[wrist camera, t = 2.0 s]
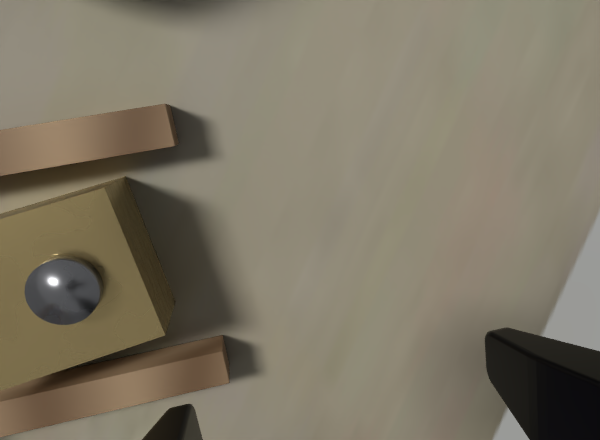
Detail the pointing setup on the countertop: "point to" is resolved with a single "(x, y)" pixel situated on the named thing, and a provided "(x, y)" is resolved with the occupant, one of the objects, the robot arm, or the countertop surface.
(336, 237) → the countertop surface
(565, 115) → the countertop surface
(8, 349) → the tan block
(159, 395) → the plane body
